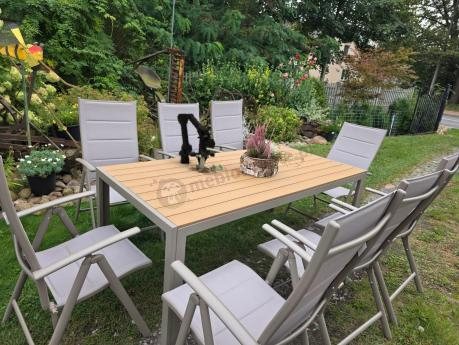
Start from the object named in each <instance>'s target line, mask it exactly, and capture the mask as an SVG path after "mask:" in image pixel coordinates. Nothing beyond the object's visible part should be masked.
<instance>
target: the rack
mask: <svg viewBox="0 0 459 345" xmlns="http://www.w3.org/2000/svg"><path fill="white" fill-rule="evenodd" d="M198 166H199V164H195V167H196V169H197V171H198V170H199V169H200V168H199V167H198ZM204 169H207V167H206V166H205V165H204Z"/></svg>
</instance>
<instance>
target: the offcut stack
mask: <svg viewBox="0 0 459 345" xmlns="http://www.w3.org/2000/svg"><path fill="white" fill-rule="evenodd" d="M197 173H200V174H202V173H203V174H209V173H210V170H209V169H208V168H206V169H199V170H198V169H197Z"/></svg>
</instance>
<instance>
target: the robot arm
mask: <svg viewBox="0 0 459 345" xmlns="http://www.w3.org/2000/svg"><path fill="white" fill-rule="evenodd" d="M176 119H177V122H178V124H179V125H180V130H181V131H180V132H181V141H182V144H181V146H180V150H179V152H178V156H179V157H180V160H179V162H180V164H181V165H182V164H183V165H184V164H187V165H188V164H190V157H192V158H196V159H197V163H198V165H200V157H199V156H201V157H204V158H205V163H206V161H207V159H209V158H214V157H215V156H216V154H215V152H213V151H211V150H208V149H207V148H210V149H213V148H215V147H216V141H215V139H214V138H212V136H211V133H210V131H209V129H208V128H207V127H206V126H204V125H202V124H201V123H200V121H199V120H198V119H197V118H196V117H195V115H194V113H178V114H177V116H176ZM189 122H190V124H192V125H193V127H194V128H195V129H196V133H197V135H198V136H197V137H196V139H199V140H198V152H196V151H195V150H194V151H193V145H192V144H190V142H189V140H190V139H189V132H188V131H189V130H188V123H189Z"/></svg>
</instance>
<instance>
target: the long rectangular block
mask: <svg viewBox="0 0 459 345" xmlns="http://www.w3.org/2000/svg"><path fill="white" fill-rule="evenodd" d="M199 157H200V165H199V164H198V165H199V166H198V167H199V168H200V169H204V166H205V163H206V162H205V158H204V157H201V155H199Z"/></svg>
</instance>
